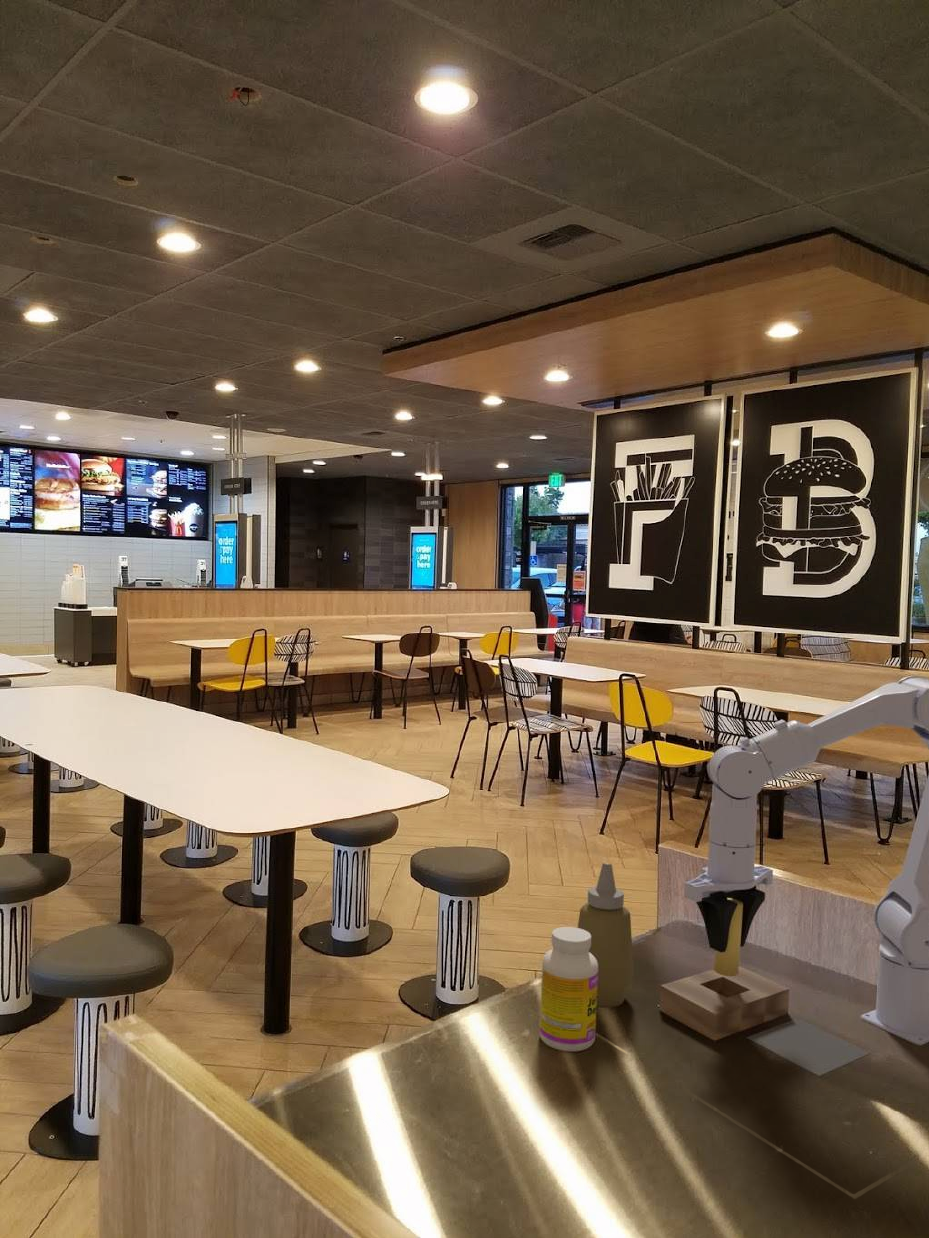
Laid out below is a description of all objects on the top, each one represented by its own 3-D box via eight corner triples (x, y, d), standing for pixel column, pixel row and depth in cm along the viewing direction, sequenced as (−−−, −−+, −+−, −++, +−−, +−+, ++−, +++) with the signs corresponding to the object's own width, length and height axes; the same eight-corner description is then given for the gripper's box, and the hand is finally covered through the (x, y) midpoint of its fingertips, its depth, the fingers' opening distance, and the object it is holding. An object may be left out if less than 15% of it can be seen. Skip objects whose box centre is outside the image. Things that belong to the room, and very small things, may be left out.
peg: (724, 963, 119) (728, 896, 119) (743, 972, 117) (748, 903, 117) (709, 968, 118) (713, 900, 117) (728, 978, 115) (732, 908, 115)
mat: (797, 1020, 117) (798, 1017, 117) (870, 1055, 108) (870, 1052, 108) (746, 1039, 111) (746, 1037, 111) (818, 1078, 103) (818, 1075, 103)
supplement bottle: (593, 1057, 106) (597, 947, 105) (536, 1049, 107) (540, 941, 106) (596, 1030, 112) (601, 926, 112) (542, 1023, 113) (546, 920, 113)
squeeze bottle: (641, 996, 122) (647, 862, 121) (617, 1019, 115) (624, 878, 114) (586, 980, 126) (591, 851, 126) (560, 1001, 119) (565, 865, 119)
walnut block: (731, 988, 125) (733, 963, 125) (787, 1015, 118) (789, 988, 118) (659, 1012, 118) (660, 985, 117) (714, 1042, 110) (715, 1014, 110)
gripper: (743, 827, 124) (739, 926, 125) (668, 840, 116) (663, 946, 117) (788, 840, 118) (782, 944, 119) (712, 855, 110) (706, 966, 111)
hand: (726, 946), depth 117 cm, fingers closed on peg, 3 cm apart
